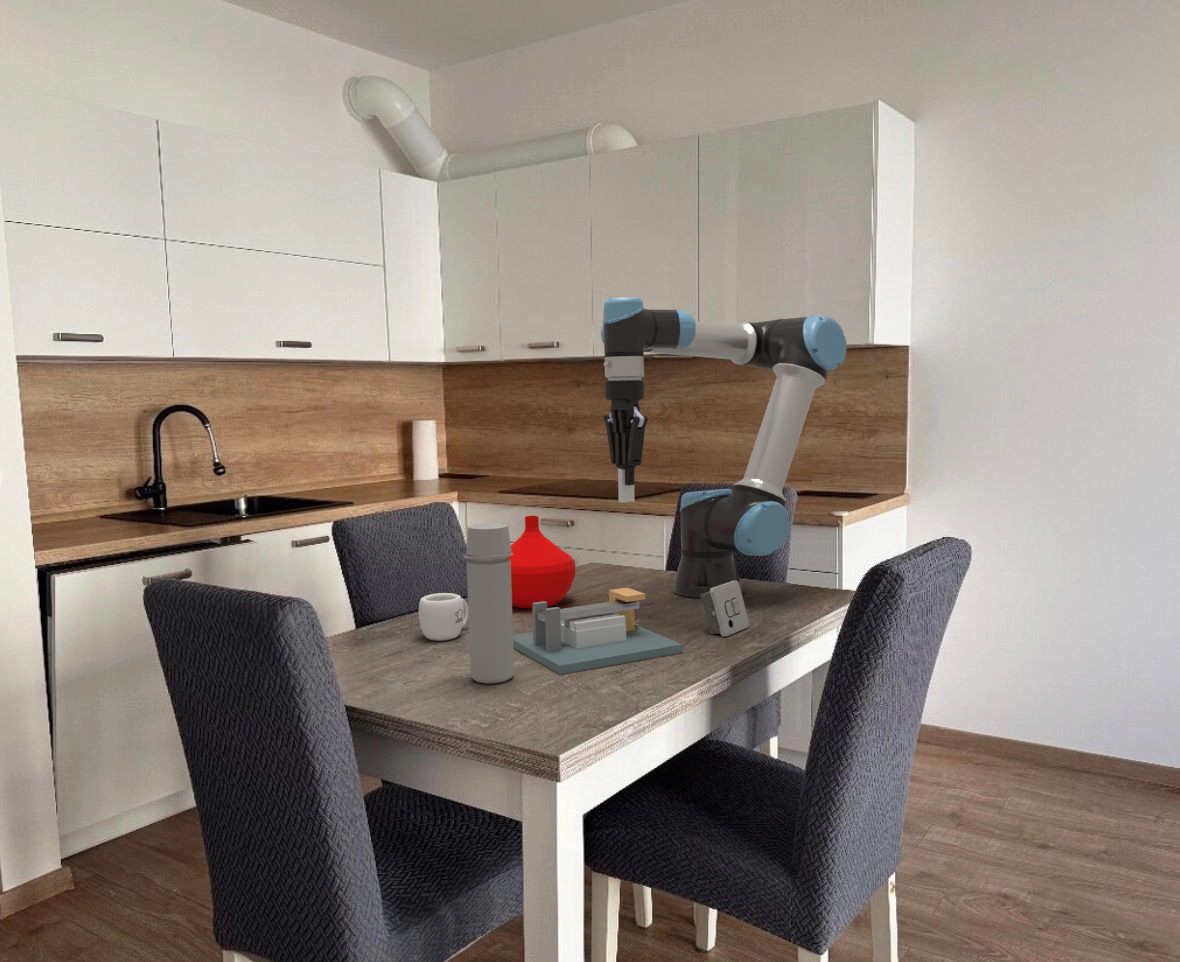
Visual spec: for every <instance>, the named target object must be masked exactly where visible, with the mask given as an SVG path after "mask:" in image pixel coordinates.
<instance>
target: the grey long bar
mask: <svg viewBox="0 0 1180 962" xmlns="http://www.w3.org/2000/svg"><path fill="white" fill-rule="evenodd" d="M632 609H634V610H637V609H640V601H639V600H637V601H630V602H625V601H622V600H619V601H613V602H609V601H606V602H601V603H592V604H585V605H580V606H579V605H578V606H573V607H567V608H566V607H565V608H560V620H566V619H573V618H579V617H586V616H592V615H599V614H606V613H612V612H619V611H625V610H632ZM537 614H538V620H541V621H543V622H545V611H544V612H537Z"/></svg>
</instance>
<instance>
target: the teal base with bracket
mask: <svg viewBox="0 0 1180 962" xmlns="http://www.w3.org/2000/svg"><path fill="white" fill-rule="evenodd" d="M532 607H533V609H532V631H531V632H525V633H524V632H523V633H517V634H513V649H515V650H517V651H518V652H520V653H522V655H523V654H524V655H525V656H527V657H528V658H530V659H532V660H533V661H536V662H537V663H539V664H540V665H543V667H545V668H548V669H550V670H551V671H553V672H554V673H556V674H558V675H566V674H571V673H577V672H582V671H588V670H594V669H600V668H604V667H610V666H616V665H620V664H627V663H634V662H639V661H643V660H650V659H655V658H660V657H666V656H671V655H677V654H678V655H679V654H682V653H683V644H682V643H680V642H677V641H675V640H673V639H670V638H669V637H665V636H664V635H661V634H659V633H656V632H653V631H651V630H648V629H646V628H643V627H641V626H640V624H637V623H635V630H631V631H626V624H625V616H624V615H623V616H620V614H619V613H616V614H614V612H612V613H606V614H599V615H592V616H586V617H579V618H573V619H566V620H560V609H561V608H560V607H558V606H556V607H547V602H545V601H543V602H536V603H532ZM544 611H545V622H543V621H541V620H538V614H537V612H544Z"/></svg>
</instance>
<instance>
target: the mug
mask: <svg viewBox="0 0 1180 962" xmlns="http://www.w3.org/2000/svg"><path fill="white" fill-rule="evenodd" d="M418 619H419V620H418V621H419V626H420V628H421V631H422V633H423V635H424V637H425V638H426V639H428V640H430V641H438V642H440V641H449V640H452V639H455V638H457V637H458V636H459V635H460V633H462V629H463V626H465V625H466V623H467V621H468V620H469V615H468V602H467V601H466V599H464V598H462V597H461V595H459V594H456V593H453V592H452V593H450V592H441V593H440V592H438V593H431V594H427V595H424V596H423V597H421V598H420V600H419V603H418Z"/></svg>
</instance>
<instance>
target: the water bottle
mask: <svg viewBox="0 0 1180 962" xmlns="http://www.w3.org/2000/svg"><path fill="white" fill-rule="evenodd" d="M466 539H467V540H466V541H467V542H466V555H464V556H463V559H467V561H466V579H467V580H466V581H467V582H466V583H467V605H468V634H469V635H468V639H469V640H468V641H469V642H468V643H469V644H468V645H469V666H470V667H469V668H470V669H469V670H470V678H472V680H474V681H475V682H477V683H480V684H500V683H505V682H506V681H509V680H511V679H512V678H513V676H514V674H515V673H514V672H515V667H514V666H515V662H514V661H515V660H514V659H515V658H514V657H515V656H514V648H513V635H514V632H513V631H514V626H513V606H512V590H511V559H509V558H507V557H510V556H511V555H513V553H511V545H512V543H511V538H510V529H509V524H505V523H498V522H487V523H475V524H471V525H469V526H468V527H467V538H466Z"/></svg>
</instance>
